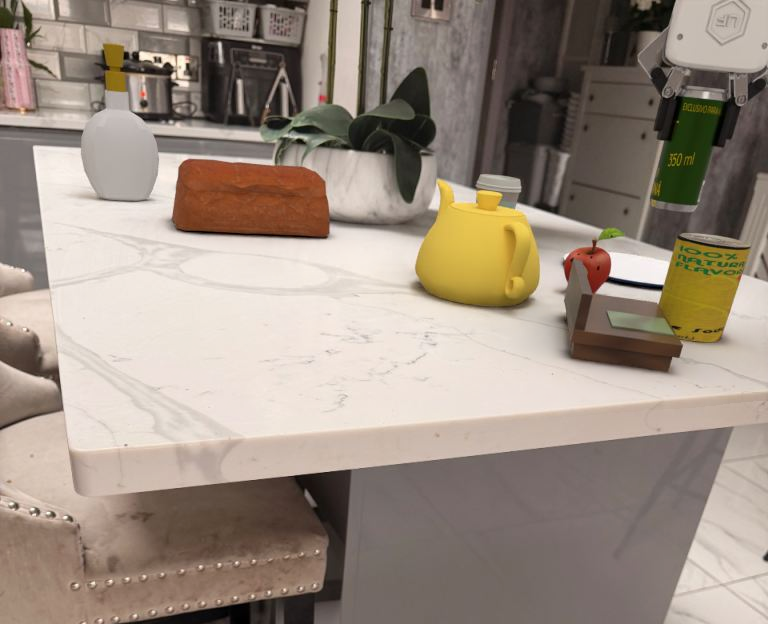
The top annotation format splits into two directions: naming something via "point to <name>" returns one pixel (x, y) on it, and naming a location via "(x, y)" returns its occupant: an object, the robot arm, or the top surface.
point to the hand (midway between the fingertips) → (689, 141)
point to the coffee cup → (501, 188)
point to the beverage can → (702, 284)
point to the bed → (617, 327)
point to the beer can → (688, 148)
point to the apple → (593, 260)
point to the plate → (636, 269)
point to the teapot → (479, 252)
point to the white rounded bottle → (119, 141)
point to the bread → (250, 199)
